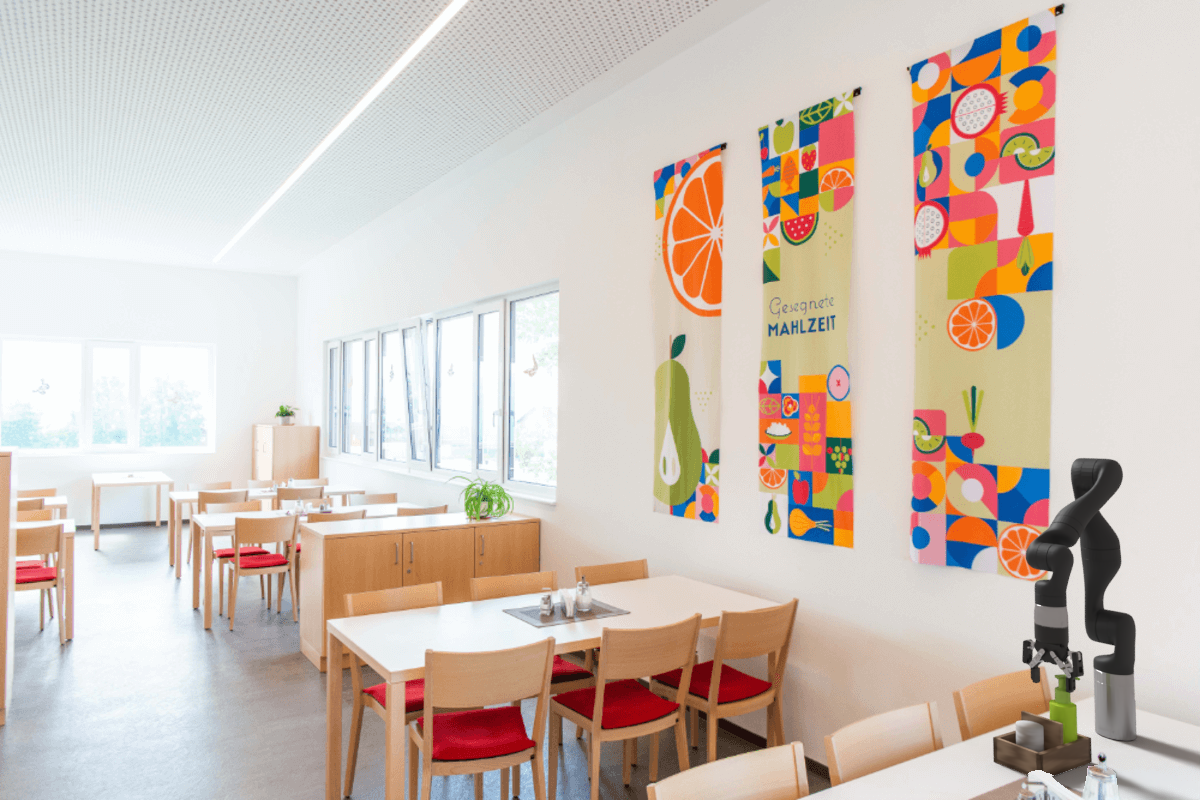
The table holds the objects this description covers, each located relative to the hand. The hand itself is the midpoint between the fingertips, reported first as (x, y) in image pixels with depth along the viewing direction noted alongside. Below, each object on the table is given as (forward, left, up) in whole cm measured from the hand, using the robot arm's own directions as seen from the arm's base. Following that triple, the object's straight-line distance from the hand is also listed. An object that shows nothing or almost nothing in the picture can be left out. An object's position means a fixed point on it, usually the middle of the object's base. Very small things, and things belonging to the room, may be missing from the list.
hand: (1052, 687), depth 194 cm
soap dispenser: (-1, +2, -17) cm, 17 cm away
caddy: (+5, 0, -18) cm, 18 cm away
